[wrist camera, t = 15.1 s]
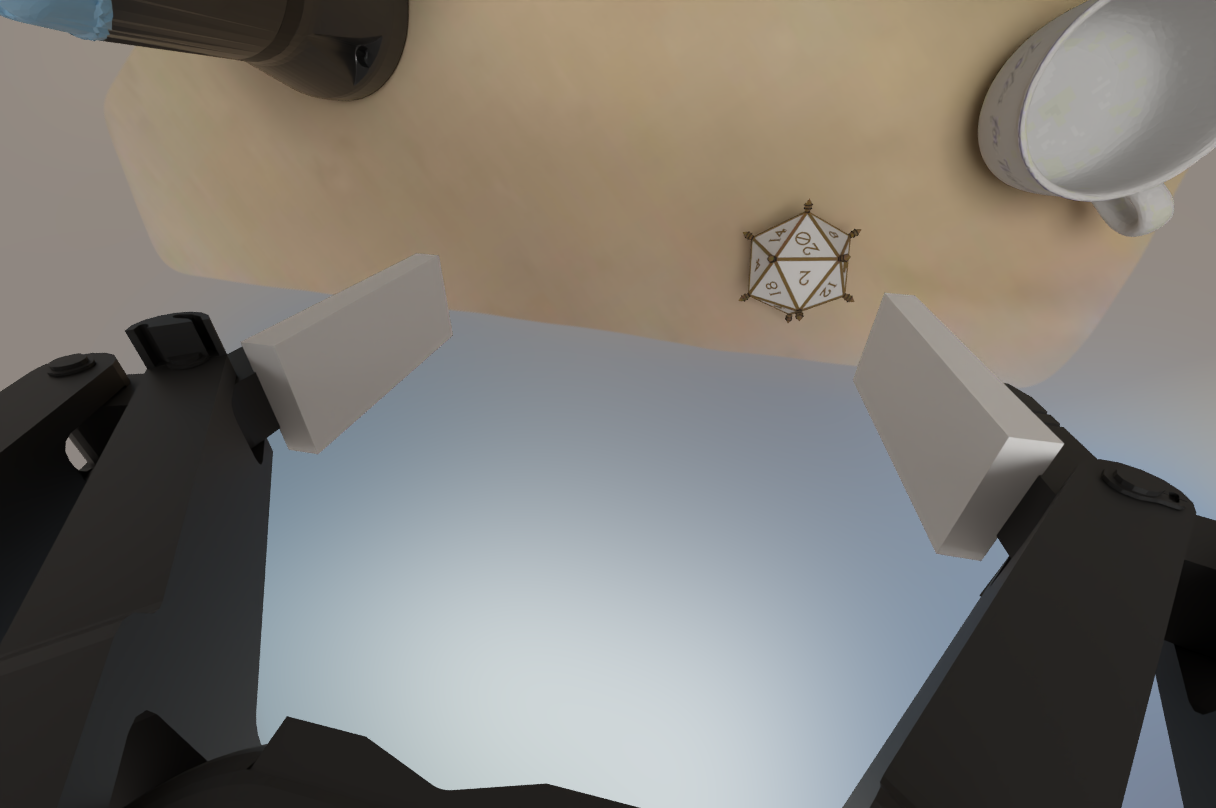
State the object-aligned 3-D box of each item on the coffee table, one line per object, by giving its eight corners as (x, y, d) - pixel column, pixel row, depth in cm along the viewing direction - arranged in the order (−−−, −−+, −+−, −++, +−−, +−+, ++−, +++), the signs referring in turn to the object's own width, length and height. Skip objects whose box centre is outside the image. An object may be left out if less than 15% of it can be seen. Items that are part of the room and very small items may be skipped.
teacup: (952, 52, 31) (1017, 28, 24) (1168, -41, 27) (1316, -101, 21) (968, 253, 37) (1024, 279, 30) (1150, 199, 33) (1262, 215, 26)
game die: (763, 244, 43) (703, 224, 36) (862, 198, 37) (814, 163, 30) (785, 339, 42) (729, 338, 35) (890, 307, 36) (848, 298, 29)
